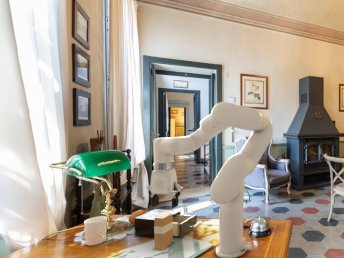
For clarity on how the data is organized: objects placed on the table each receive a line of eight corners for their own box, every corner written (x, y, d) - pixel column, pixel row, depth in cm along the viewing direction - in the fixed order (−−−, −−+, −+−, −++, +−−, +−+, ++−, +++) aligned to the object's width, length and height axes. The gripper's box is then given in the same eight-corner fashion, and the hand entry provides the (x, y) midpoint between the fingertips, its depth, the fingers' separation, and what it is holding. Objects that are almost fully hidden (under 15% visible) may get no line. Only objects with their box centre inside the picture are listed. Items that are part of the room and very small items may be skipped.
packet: (173, 242, 103) (172, 213, 102) (162, 249, 97) (162, 218, 97) (164, 241, 103) (164, 212, 103) (154, 248, 97) (154, 217, 97)
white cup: (94, 247, 99) (94, 223, 99) (79, 245, 100) (79, 222, 100) (111, 238, 106) (111, 216, 106) (97, 236, 108) (97, 215, 108)
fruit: (153, 219, 125) (145, 208, 122) (140, 231, 120) (131, 220, 116) (145, 216, 130) (137, 205, 126) (132, 227, 124) (123, 217, 120)
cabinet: (180, 227, 119) (180, 210, 119) (161, 238, 106) (161, 220, 106) (155, 224, 122) (155, 208, 122) (134, 235, 109) (134, 218, 109)
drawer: (205, 228, 115) (205, 215, 115) (190, 239, 104) (190, 225, 104) (173, 225, 119) (173, 212, 119) (155, 235, 108) (155, 221, 108)
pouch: (104, 224, 123) (104, 176, 122) (120, 227, 118) (120, 178, 118) (79, 232, 112) (79, 181, 112) (95, 237, 108) (95, 183, 108)
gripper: (139, 167, 98) (141, 208, 98) (175, 168, 94) (176, 210, 94) (153, 164, 105) (154, 202, 105) (187, 165, 102) (188, 204, 102)
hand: (165, 206), depth 100 cm, fingers open, 9 cm apart
